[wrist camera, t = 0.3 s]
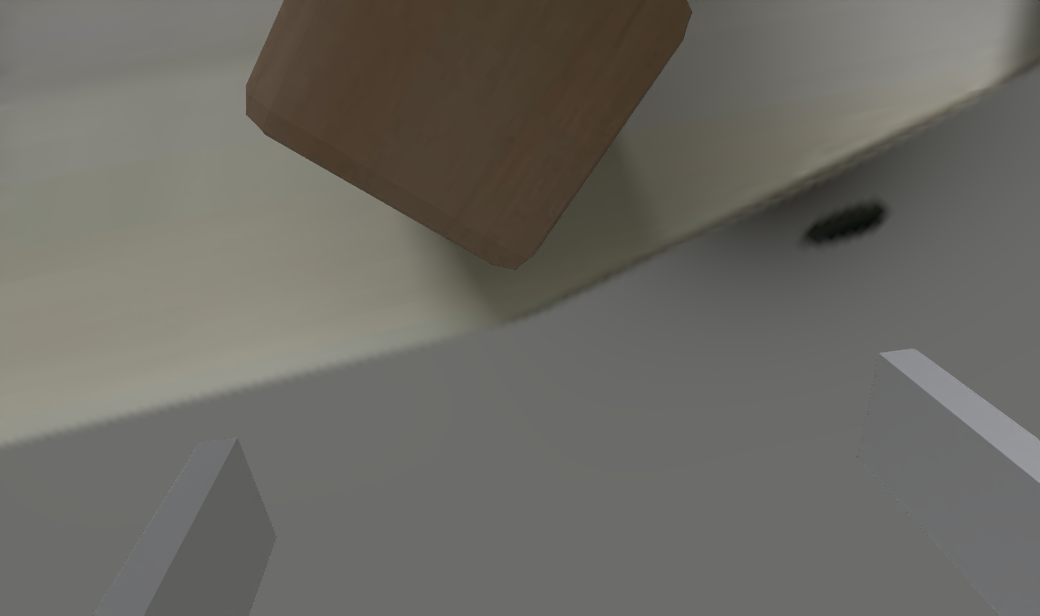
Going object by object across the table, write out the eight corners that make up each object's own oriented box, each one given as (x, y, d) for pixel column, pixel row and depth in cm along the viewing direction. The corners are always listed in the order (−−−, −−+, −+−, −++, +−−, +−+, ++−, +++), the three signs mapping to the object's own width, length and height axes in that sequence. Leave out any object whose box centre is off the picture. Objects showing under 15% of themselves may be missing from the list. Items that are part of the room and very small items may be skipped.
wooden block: (583, 13, 34) (718, 7, 16) (491, 160, 37) (519, 290, 19) (432, -104, 31) (392, -272, 13) (346, 67, 34) (220, 121, 16)
